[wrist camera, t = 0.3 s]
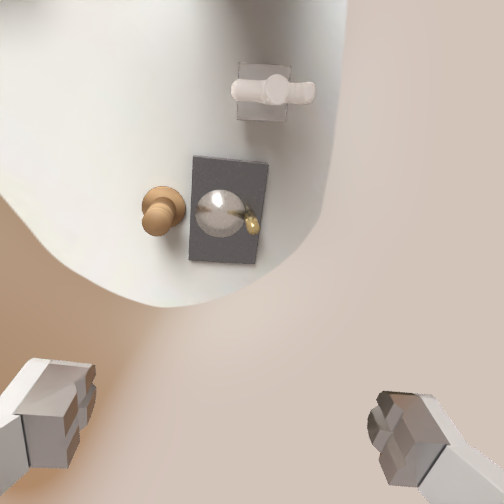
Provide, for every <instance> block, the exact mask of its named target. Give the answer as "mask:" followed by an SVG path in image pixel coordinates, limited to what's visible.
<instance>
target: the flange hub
mask: <svg viewBox="0 0 504 504" xmlns="http://www.w3.org/2000/svg"><path fill="white" fill-rule="evenodd" d="M142 211H143V214H144V217H143V219H142V226H143V228H144V230H145V231H146V232H147V233H148V234H150V235H152V236H162V235H164V234H166V233H167V232H168V230H169V228H171V227H174V226H176V225H177V224H178V223H180V221H181V220H182V219H183V217H184V214H185V202H184V200H183V198H182V196H181V195H180V194H179V193H178V192H177V191H176V190H174V189H172V188H170V187H165V186H160V187H156V188H153V189H151V190H150V191H149V192H148V193H147V194H146V195H145V197H144V199H143V201H142Z"/></svg>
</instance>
